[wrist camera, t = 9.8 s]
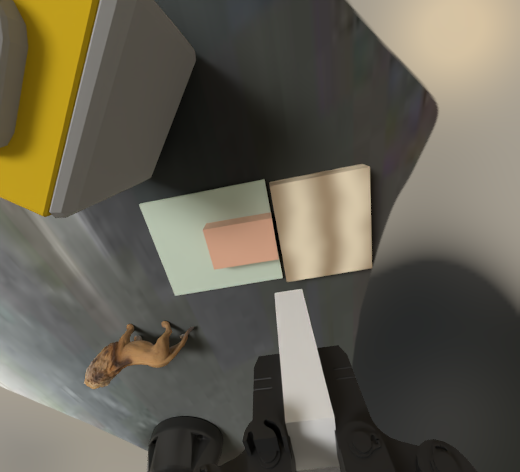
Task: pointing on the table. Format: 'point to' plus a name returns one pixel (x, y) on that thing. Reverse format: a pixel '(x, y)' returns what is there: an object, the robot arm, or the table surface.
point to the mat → (193, 240)
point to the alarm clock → (85, 98)
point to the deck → (324, 222)
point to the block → (241, 241)
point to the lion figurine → (131, 355)
